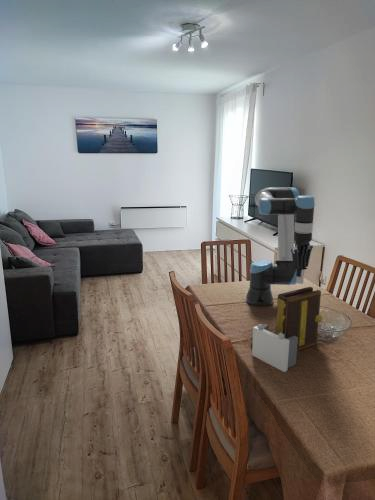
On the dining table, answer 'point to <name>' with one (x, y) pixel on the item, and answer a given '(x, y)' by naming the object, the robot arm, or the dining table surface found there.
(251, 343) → the hinge block
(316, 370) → the dining table surface
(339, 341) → the dining table surface
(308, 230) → the robot arm
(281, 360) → the carcass
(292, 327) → the book
